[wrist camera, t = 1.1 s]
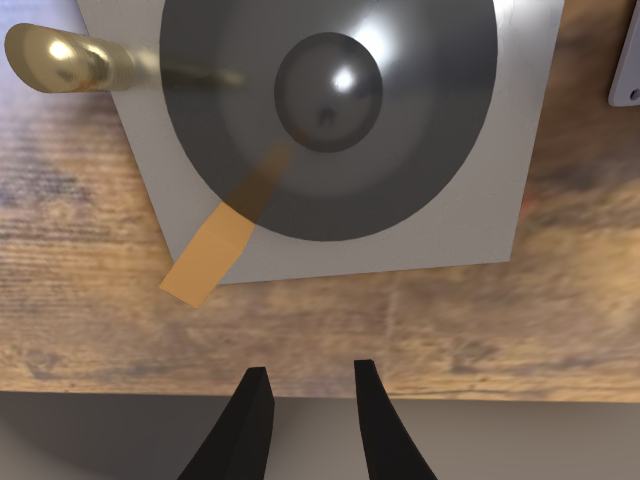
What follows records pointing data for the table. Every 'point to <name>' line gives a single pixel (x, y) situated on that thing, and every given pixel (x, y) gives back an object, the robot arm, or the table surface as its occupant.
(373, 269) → the base plate
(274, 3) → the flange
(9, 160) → the table surface
